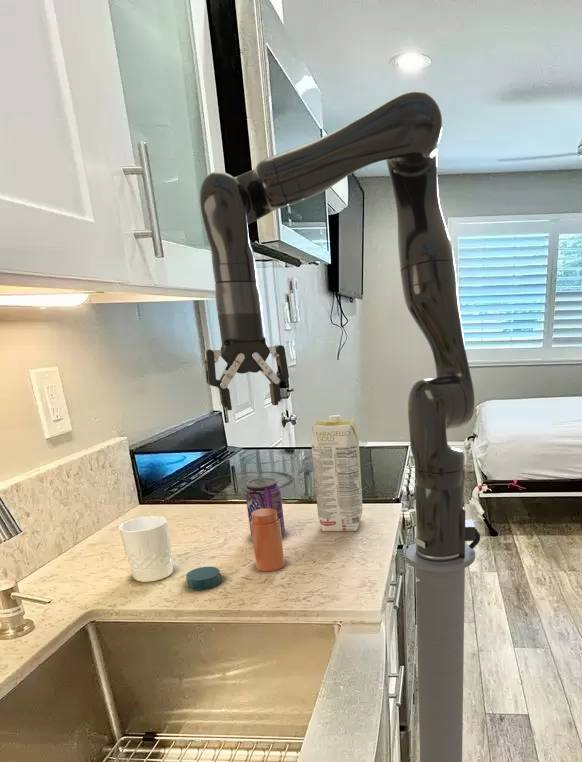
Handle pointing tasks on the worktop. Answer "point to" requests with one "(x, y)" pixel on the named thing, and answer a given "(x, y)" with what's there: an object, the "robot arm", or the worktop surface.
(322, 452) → the juice carton
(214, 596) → the worktop surface
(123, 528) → the white cup
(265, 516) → the jam jar
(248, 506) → the beverage can
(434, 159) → the robot arm
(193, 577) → the jar lid
